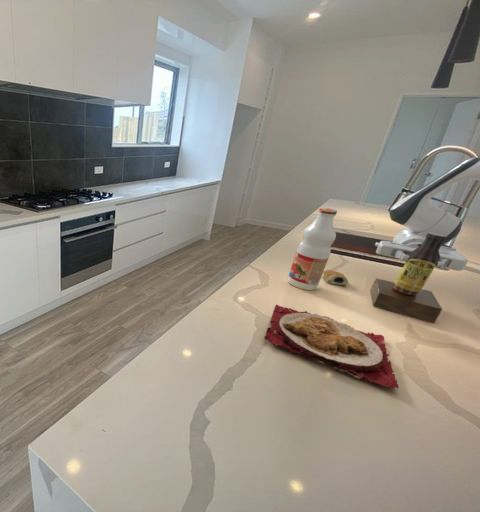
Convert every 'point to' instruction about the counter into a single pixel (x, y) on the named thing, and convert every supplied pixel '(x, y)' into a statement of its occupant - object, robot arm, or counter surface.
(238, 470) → the counter surface
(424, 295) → the riser
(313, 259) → the fruit juice
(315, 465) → the counter surface
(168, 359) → the counter surface
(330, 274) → the pastry
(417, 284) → the sauce bottle
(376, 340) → the plate with food
